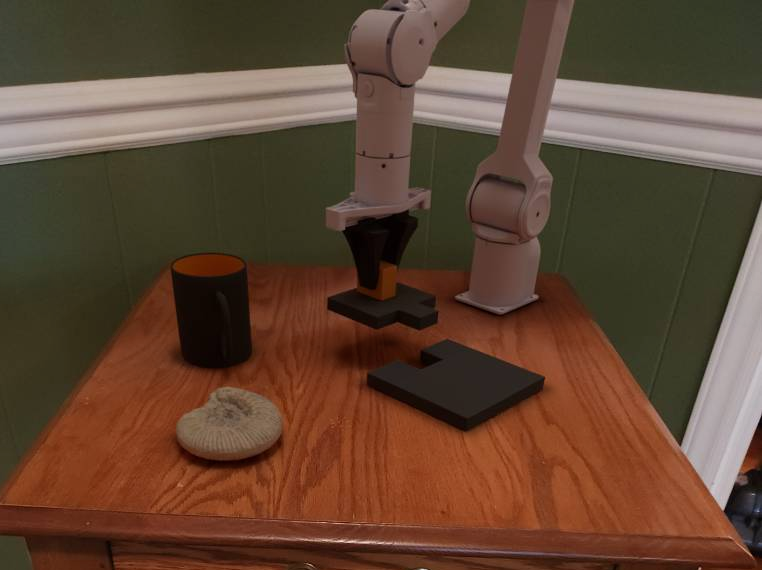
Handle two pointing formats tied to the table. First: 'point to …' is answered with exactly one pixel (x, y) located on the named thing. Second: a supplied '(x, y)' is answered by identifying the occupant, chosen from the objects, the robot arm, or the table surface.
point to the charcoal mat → (457, 384)
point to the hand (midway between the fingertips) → (376, 284)
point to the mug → (212, 309)
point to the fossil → (230, 425)
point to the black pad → (386, 303)
